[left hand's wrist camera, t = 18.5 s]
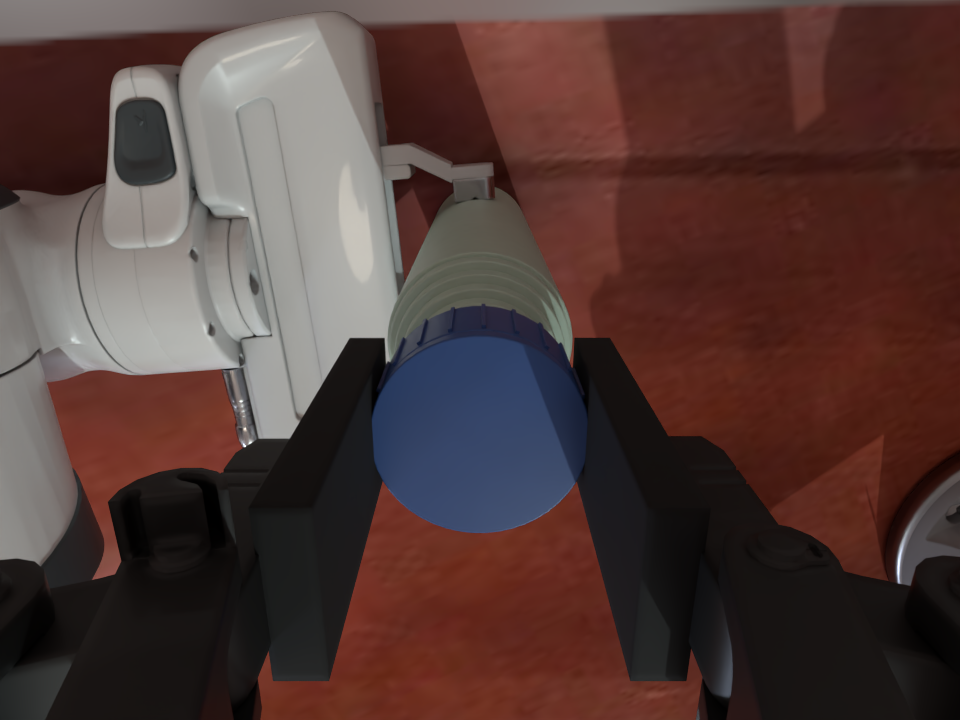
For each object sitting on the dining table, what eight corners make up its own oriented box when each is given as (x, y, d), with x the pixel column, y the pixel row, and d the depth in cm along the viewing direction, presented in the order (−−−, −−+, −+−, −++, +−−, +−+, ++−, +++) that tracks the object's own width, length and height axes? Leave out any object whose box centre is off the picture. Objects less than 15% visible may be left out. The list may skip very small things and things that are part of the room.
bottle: (414, 228, 35) (299, 418, 13) (483, 163, 34) (490, 247, 12) (476, 295, 37) (471, 574, 14) (544, 235, 36) (657, 434, 13)
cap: (617, 406, 14) (638, 450, 12) (470, 515, 15) (469, 572, 13) (491, 260, 13) (493, 284, 11) (341, 388, 14) (319, 430, 12)
